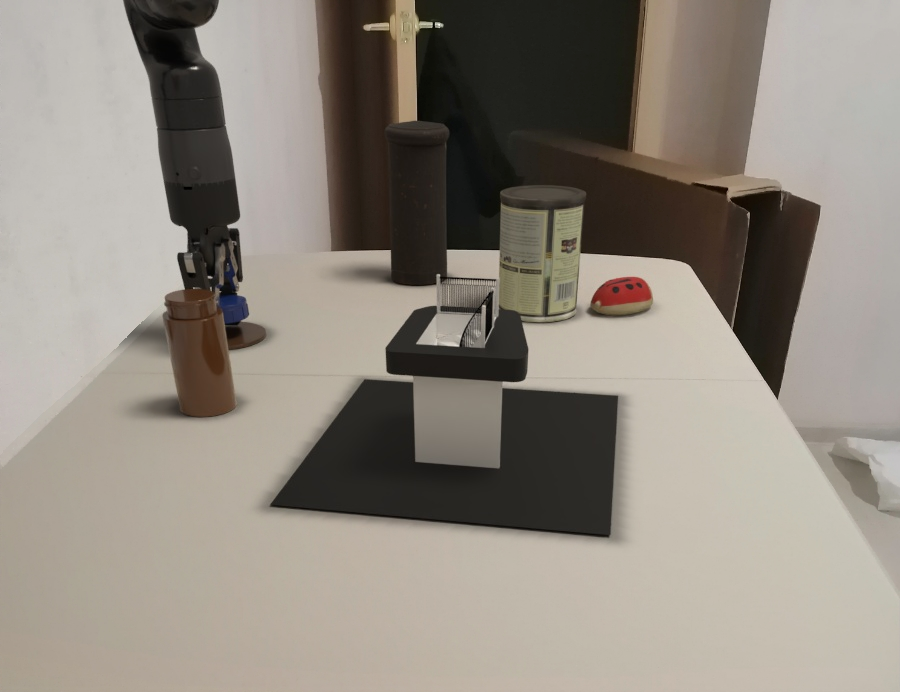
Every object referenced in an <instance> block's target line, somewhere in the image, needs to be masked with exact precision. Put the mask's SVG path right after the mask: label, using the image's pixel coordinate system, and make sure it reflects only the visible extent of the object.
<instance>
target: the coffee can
mask: <svg viewBox="0 0 900 692" xmlns="http://www.w3.org/2000/svg"><path fill="white" fill-rule="evenodd" d="M499 198H500V220H499V221H500V223H499V224H500V226H499V262H498V263H499V265H498V266H499V268H498V278H500V279H499V309H504V310H514V311H517V312H518V313H519V315H520V316H521V320H522V322H527V323H554V322H559V321H565V320H567V319H570V318H572V317H574V316H576V314H577V312H578V311H577V305H578V304H577V303H578V293H579V291H578V290H579V277H580V264H581V263H580V262H581V251H582V250H581V249H582V240H583V226H584V214H585V213H584V212H585V201H586V199H587V192H586V191H585V190H583V189H580V188H577V187H573V186H565V185H552V184H533V185H532V184H531V185H518V186H512V187H508V188H505V189H504V188H503V189H502V190H501V191H500V192H499Z"/></svg>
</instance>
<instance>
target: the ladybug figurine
mask: <svg viewBox="0 0 900 692" xmlns="http://www.w3.org/2000/svg"><path fill="white" fill-rule="evenodd" d="M653 302H654V296H653V291H652V288H651V286H650V285H649V284H648V282H647V281H646V280H645V279H644V278H642V277H639V276H622V277H616V278H612V279H609V280H607V281H604V283H603V284H601V285H600V286H599V287H598V288H597V289H596V291H594V293H593V295H592V297H591V300H590V308H591V309H592V310H593V311H594V312H596V313H598V314H601V315H604V316H625V315H631V314H637V313H639V312H643V311H646V310H647V309H649V308H650V307H651V306H652V305H653Z"/></svg>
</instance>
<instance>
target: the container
mask: <svg viewBox="0 0 900 692" xmlns="http://www.w3.org/2000/svg"><path fill="white" fill-rule="evenodd" d="M384 136H385V139H386V141H387V143H388V173H389V174H388V176H389V230H390V231H389V232H390V233H389V234H390V276H391V277H390V279H391V280H392V281H394V282H396V283H398V284H401V285H412V286H413V285H415V286H423V285H425V286H426V285H433V284H437V274H440V277H448V243H447V239H448V237H447V236H448V235H447V142H448V139H449V138H450V130H449V128H448V126H446V125H445V124H444V123H440V122H438V123H437V122H433V121H432V122H431V121H424V120H408V121H400V122H395V123H389V124H388V125H387V126H386V127H385V129H384ZM444 281H446V279H444V280H443V279H442V282H444ZM440 283H441V279H440Z"/></svg>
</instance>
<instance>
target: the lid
mask: <svg viewBox="0 0 900 692" xmlns="http://www.w3.org/2000/svg"><path fill="white" fill-rule="evenodd" d="M219 302H220V305H219V308H220V309H222V311H223V316H224V323H225V324H229V323H234V322H238V321H241V322H242V321H243V320H246V319H247V318H248V317H249V316H250V311H249V304H248V302H247V298H246V297H245V296H243V295H238V294H237V295H219Z"/></svg>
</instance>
